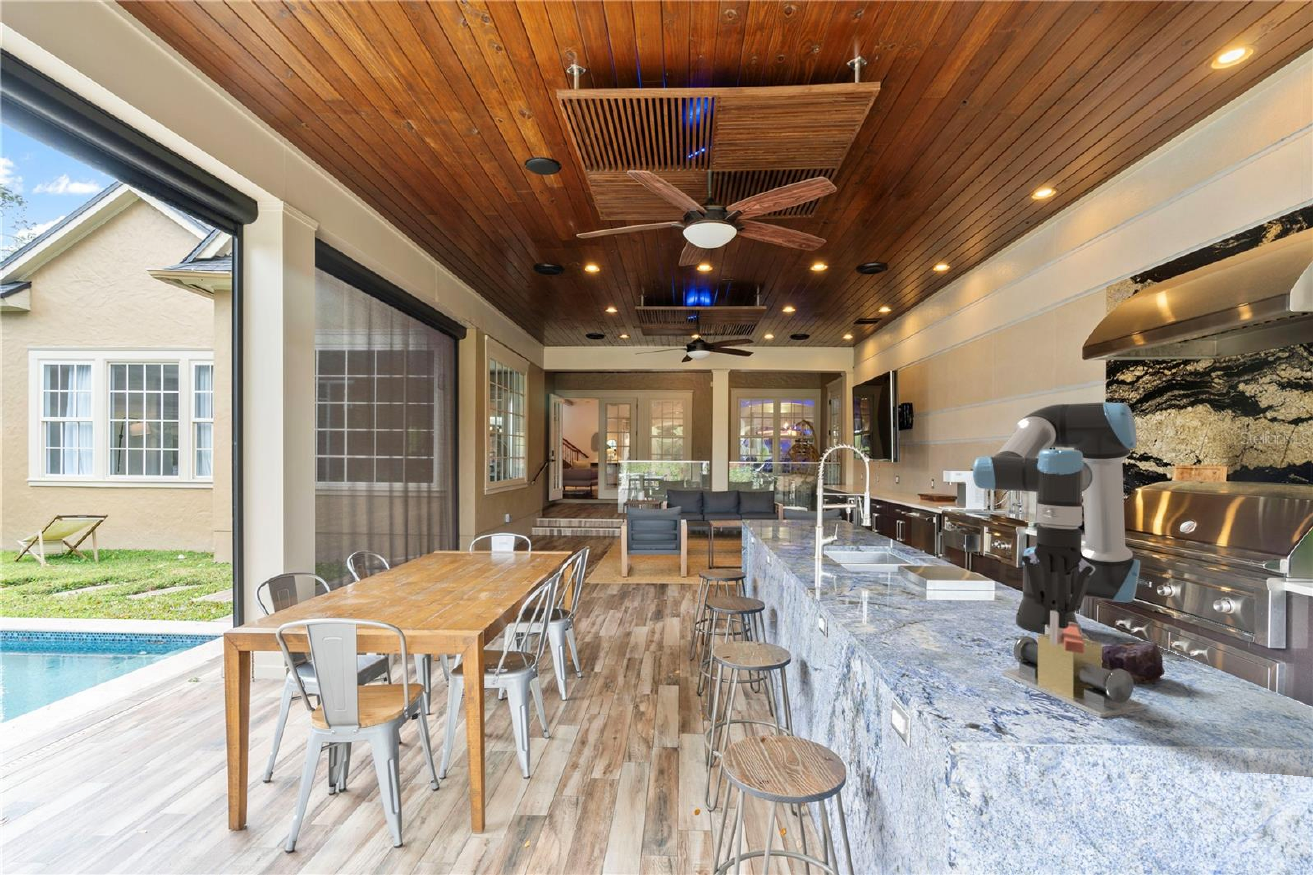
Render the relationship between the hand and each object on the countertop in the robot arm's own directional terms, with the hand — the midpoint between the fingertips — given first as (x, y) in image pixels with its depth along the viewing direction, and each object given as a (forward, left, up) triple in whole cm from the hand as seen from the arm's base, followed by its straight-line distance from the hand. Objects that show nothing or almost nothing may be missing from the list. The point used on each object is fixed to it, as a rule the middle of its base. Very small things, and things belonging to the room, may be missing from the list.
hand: (1056, 642), depth 121 cm
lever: (-5, 0, 0) cm, 5 cm away
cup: (-23, -15, -13) cm, 31 cm away
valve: (-9, -4, -13) cm, 16 cm away
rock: (-29, -5, -13) cm, 32 cm away
